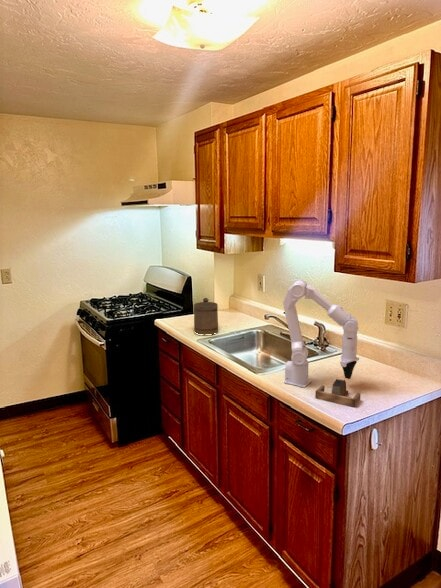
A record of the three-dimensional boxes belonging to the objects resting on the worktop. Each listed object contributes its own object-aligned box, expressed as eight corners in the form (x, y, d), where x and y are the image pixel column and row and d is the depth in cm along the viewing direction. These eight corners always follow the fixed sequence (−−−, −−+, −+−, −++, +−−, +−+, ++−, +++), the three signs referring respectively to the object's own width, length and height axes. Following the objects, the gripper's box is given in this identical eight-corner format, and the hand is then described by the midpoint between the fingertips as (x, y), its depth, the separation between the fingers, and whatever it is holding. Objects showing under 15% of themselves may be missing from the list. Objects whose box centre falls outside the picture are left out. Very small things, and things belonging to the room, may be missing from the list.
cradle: (315, 398, 160) (315, 391, 160) (321, 391, 166) (321, 384, 166) (355, 407, 152) (355, 400, 151) (360, 400, 158) (360, 393, 157)
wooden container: (222, 331, 257) (221, 297, 253) (210, 337, 244) (209, 301, 240) (202, 328, 264) (201, 295, 260) (189, 334, 252) (188, 299, 248)
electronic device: (348, 393, 164) (349, 376, 163) (341, 403, 156) (342, 384, 155) (337, 391, 166) (338, 374, 165) (330, 400, 158) (330, 382, 157)
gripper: (354, 353, 158) (352, 386, 161) (364, 343, 170) (362, 374, 173) (336, 350, 162) (334, 382, 165) (347, 340, 174) (345, 370, 177)
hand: (347, 378), depth 169 cm, fingers closed
